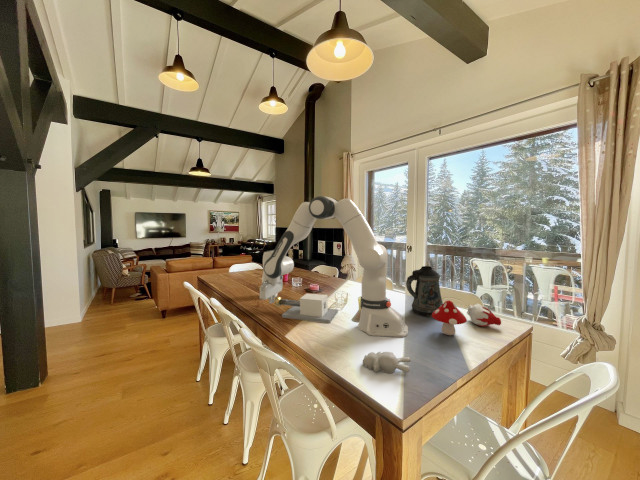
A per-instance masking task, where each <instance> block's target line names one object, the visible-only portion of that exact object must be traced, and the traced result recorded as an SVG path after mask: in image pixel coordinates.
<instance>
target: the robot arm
mask: <svg viewBox="0 0 640 480" xmlns="http://www.w3.org/2000/svg"><path fill="white" fill-rule="evenodd" d="M317 219H318V220H333V219H337V221H339V223H340V225H341V226H342V228H343V230H344V232H345V234H346V235H347V238H348V239H349V241H350V242H351V245H352V248H353V250H354V252H355V255H356V257H357V259H358V263H359V265H360V267H362V268H363V270H362V276H361V296H360V303H359V305H360V316H359V322H358V325H357V327H358V329H359V330H360V331H362V332H364V333H366V334H367V335H368V336H374V337H375V336H376V337H396V338H398V337H399V338H403V337H406V336H408V334H409V327H408V325H407V324H406V323H404V320H403V317H402V315H401V314H400V313H399V312H398V311H397V310H395V309H394V308H393V307H392V302H391V300H390V298H387V274H388V273H387V272H388V254H389V253H388V250H387V248H386V247H385V246H384V245H383V244H381V243H378V241H377V239H376V237H375V235H374V232H373V230H372V228H371V226H370V224H369V222H368V221H367V220H366V217H365V216H364V215H363V213H362V211H361V210H360V209H359V207H358V206H357V205H356V203H355V202H354V201H353V200H352V199H351V198H346V197H345V198H343V199H339V201H338V199H336V198H334V197H329V196H322V195H320V196H315V197H313V198H311V200H310V201H304V202H302V203H301V204H300V205H299V207H298V208H297V210H296V211H295V213H294V215H293V217H292V219H291V221H290V223H289V226H288V227H287V229H286V230H285V232H284V233H283V234H282V236H281V237H280V239H279V241H278V242H277V244H276V246H275V248H274V249H271V250H266V251H264V252H263V255H262V269H263V272H262V276H263V283H262V282H261V285H260V287H259V299H260V300H263V301H265V300H268V304H271V305H272V304H275V299H276V297H275V294H277V293H278V294H279V293H280V292H282V290H283V287H284V285H283V279H284V276H283V275H288V274H290V273H292V272H293V271H294V268H295V262H294V260H293V258H292V257H291V256H287V254H288V252H289V251H290V249H291V248H292V247H293V246H294V245H296V244H297V243H299V242H301V241H303V240H305V239H306V238H308V236H309V235H310V233H311V231H312V229H313V227H314V225H315V223H316V221H317Z"/></svg>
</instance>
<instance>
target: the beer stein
mask: <svg viewBox="0 0 640 480" xmlns="http://www.w3.org/2000/svg"><path fill="white" fill-rule="evenodd" d="M440 279H441V275H440V273H439V272H437V271H436V270H434V269H433V267H432V266H430V265H429V266H428V265H423V266H421V268H419V269H415V270H412V274H411V275H409V276H407V278H406V282H405V286H406V287H405V288H406V289H407V291H408V293H409V294H410V295H411V296H412V297H413V300H412V304H411V309H412V311H413V313H414V314H416V315H418V316H420V317H421V316H422V317H426V318H433V317H432V313H433V312H434V311H435V310H437V309H438V308H439V307H440V306H441V305H442V304H443V303H444V302H443V298H442V295H441V288H440V282H439V281H440ZM413 281H416V283H415V290H414V289H413V288H412V283H413Z"/></svg>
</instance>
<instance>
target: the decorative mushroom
mask: <svg viewBox="0 0 640 480" xmlns="http://www.w3.org/2000/svg"><path fill="white" fill-rule="evenodd" d="M431 318H432V319H434V320H435V321H438V322H440V323H442V325H441V332H442V333H443V334H444V335H446V336H453V335H455V334H456V327H455V325H462V324H465V323H467V321H468V320H467V318H466V316H465V315H464V312H462V311H461V310H459V308H457V306H456V304H455V303H454V302H453V301H451V300H445V301H444V302H443V304H442V305H441V306H440V307H439V308H438V309H437V310H435V311H434V312H433V313H432V317H431Z"/></svg>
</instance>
